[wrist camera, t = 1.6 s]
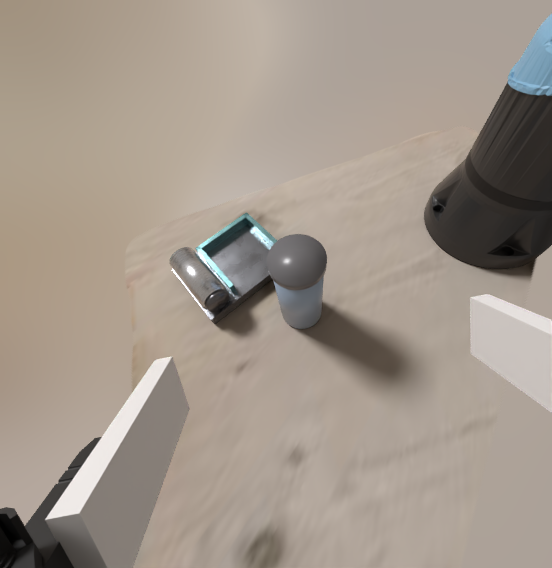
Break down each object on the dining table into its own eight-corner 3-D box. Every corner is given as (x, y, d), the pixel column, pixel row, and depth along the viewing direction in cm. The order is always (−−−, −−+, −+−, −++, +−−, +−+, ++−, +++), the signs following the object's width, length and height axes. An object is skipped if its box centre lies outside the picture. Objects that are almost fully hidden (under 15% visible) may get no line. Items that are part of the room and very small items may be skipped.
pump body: (303, 283, 38) (298, 224, 28) (332, 311, 36) (339, 259, 26) (271, 308, 37) (254, 257, 27) (299, 339, 35) (293, 296, 24)
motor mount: (248, 223, 44) (240, 199, 40) (291, 264, 40) (288, 242, 35) (176, 274, 41) (159, 255, 37) (214, 324, 37) (200, 308, 33)
